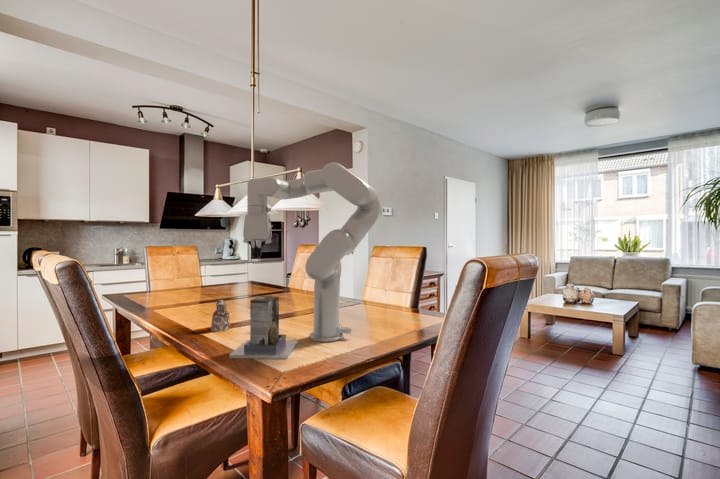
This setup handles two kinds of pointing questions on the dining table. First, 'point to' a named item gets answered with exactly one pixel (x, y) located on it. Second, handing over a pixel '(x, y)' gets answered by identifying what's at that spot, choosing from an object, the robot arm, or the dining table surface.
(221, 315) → the figurine
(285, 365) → the dining table surface
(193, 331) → the dining table surface
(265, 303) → the coffee box
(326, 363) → the dining table surface
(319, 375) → the dining table surface
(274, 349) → the locating jig
